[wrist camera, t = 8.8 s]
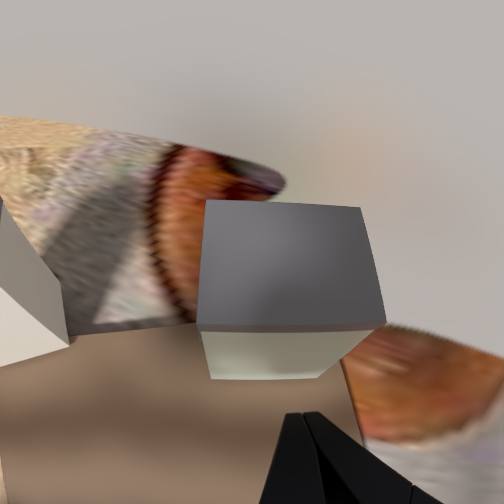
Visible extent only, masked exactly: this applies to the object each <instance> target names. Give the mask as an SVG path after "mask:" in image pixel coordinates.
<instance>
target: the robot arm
mask: <svg viewBox="0 0 504 504" xmlns="http://www.w3.org/2000/svg"><path fill="white" fill-rule="evenodd" d="M412 485H413V484H412V483H411V482H410V481H408V480H407V479H406V478H404V477H403V476H401V475H400V474H399V473H397V472H396V471H395V470H393V469H392V468H390V467H389V466H388V465H386V464H385V463H384V462H382V461H381V460H380V459H378V458H377V457H376V456H374V455H373V454H372V453H371V452H369V451H368V450H367V449H365V448H364V447H363V446H361V445H360V444H359V443H358V442H356V441H355V440H354V439H353V438H351V437H350V436H349V435H347V434H346V433H345V432H344V431H342V430H341V429H340V428H339V427H337V426H336V425H335V424H334V423H333V422H331V421H330V420H329V419H328V418H326V417H325V416H324V415H323V414H322V413H320V412H319V411H309V412H303V413H300V412H293V413H286V414H285V415H284V419H283V422H282V426H281V430H280V433H279V437H278V441H277V444H276V448H275V451H274V455H273V458H272V461H271V465H270V468H269V471H268V475H267V478H266V481H265V485H264V488H263V491H262V494H261V497H260V500H259V503H258V504H444V503H442V502H440V501H438V500H437V499H435V498H434V497H432V496H431V495H429V494H427V493H426V492H424V491H423V490H421V489H420V488H419V487H417V486H416V485H413V486H412Z"/></svg>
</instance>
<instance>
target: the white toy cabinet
mask: <svg viewBox="0 0 504 504" xmlns="http://www.w3.org/2000/svg"><path fill="white" fill-rule="evenodd" d="M66 347H70V345H69V339H68V334H67V328H66V322H65V316H64V309H63V302H62V294H61V285H60V281H59V280H58V279H57V278H56V277H55V275H54V274H53V273H52V272H51V270H50V269H49V268H48V266H47V265H46V264H45V263H44V261H43V260H42V259H41V257H40V256H39V255H38V253H37V252H36V251H35V249H34V248H33V247H32V245H31V244H30V242H29V241H28V240H27V238H26V237H25V235H24V234H23V233H22V231H21V230H20V228H19V227H18V225H17V224H16V222H15V221H14V219H13V218H12V216H11V215H10V213H9V212H8V210H7V209H6V207H5V206H4V204H3V200H2V198H1V197H0V367H1V366H5V365H8V364H12V363H15V362H19V361H22V360H26V359H29V358H33V357H36V356H40V355H43V354H46V353H50V352H53V351H56V350H60V349H63V348H66Z"/></svg>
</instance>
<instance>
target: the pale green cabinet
mask: <svg viewBox="0 0 504 504" xmlns="http://www.w3.org/2000/svg"><path fill="white" fill-rule="evenodd" d="M386 322H387V321H386V315H385V310H384V305H383V300H382V295H381V290H380V285H379V281H378V276H377V272H376V267H375V263H374V259H373V255H372V251H371V247H370V243H369V239H368V235H367V231H366V227H365V223H364V220H363V217H362V213H361V209H360V207H347V206H332V205H316V204H300V203H281V202H260V201H234V200H206V208H205V218H204V229H203V240H202V251H201V263H200V276H199V289H198V304H197V319H196V325H197V329H198V339H199V341H203V346H204V350H205V355H206V359H207V363H208V368H209V372H210V376H211V379H228V380H277V379H307V378H317V377H319V376H320V375H321V374H322V373H324V372H325V371H326V370H327V369H329V368H330V367H331V366H332V365H334V364H335V363H336V362H337V361H339V360H340V359H341V358H342V357H344V356H345V355H346V354H347V353H348V352H350V351H351V350H352V349H353V348H354V347H355V346H357V345H358V344H359V343H360V342H361V341H362V340H364V339H365V338H366V337H367V336H368V335H369V334H370V333H372V332H373V331H374V330H378V329H380V328H381V327H382V326H383V325H384V324H385V323H386Z"/></svg>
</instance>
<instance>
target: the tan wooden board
mask: <svg viewBox="0 0 504 504" xmlns="http://www.w3.org/2000/svg"><path fill="white" fill-rule="evenodd" d="M68 339H69V345H70V347H66V348H63V349H60V350H56V351H53V352H50V353H46V354H43V355H40V356H36V357H33V358H29V359H26V360H22V361H19V362H15V363H12V364H8V365H5V366H1V367H0V457H1V465H2V472H3V478H4V484H5V489H6V494H7V499H8V504H258V503H259V500H260V497H261V494H262V491H263V488H264V485H265V481H266V478H267V475H268V471H269V468H270V465H271V461H272V458H273V455H274V451H275V448H276V444H277V441H278V437H279V433H280V430H281V426H282V422H283V419H284V415H285V414H286V413H293V412H300V413H303V412H309V411H319V412H320V413H322V414H323V415H324V416H325V417H326V418H328V419H329V420H330V421H331V422H333V423H334V424H335V425H336V426H337V427H339V428H340V429H341V430H342V431H344V432H345V433H346V434H347V435H349V436H350V437H351V438H353V439H354V440H355V441H356V442H358V443H359V444H360V445H361V446H363V443H362V439H361V435H360V431H359V427H358V424H357V420H356V416H355V413H354V409H353V405H352V402H351V398H350V395H349V391H348V388H347V384H346V381H345V377H344V374H343V370H342V367H341V364H340V360H339V361H337V362H336V363H335V364H334V365H332V366H331V367H330V368H329V369H327V370H326V371H325V372H324V373H322V374H321V375H320V376H319V377H317V378H307V379H277V380H228V379H211V376H210V372H209V368H208V363H207V359H206V355H205V350H204V346H203V341H199V339H198V329H197V325H196V322H195V323H188V324H180V325H172V326H164V327H156V328H148V329H139V330H130V331H121V332H111V333H100V334H89V335H77V336H68ZM363 447H364V446H363Z"/></svg>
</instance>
